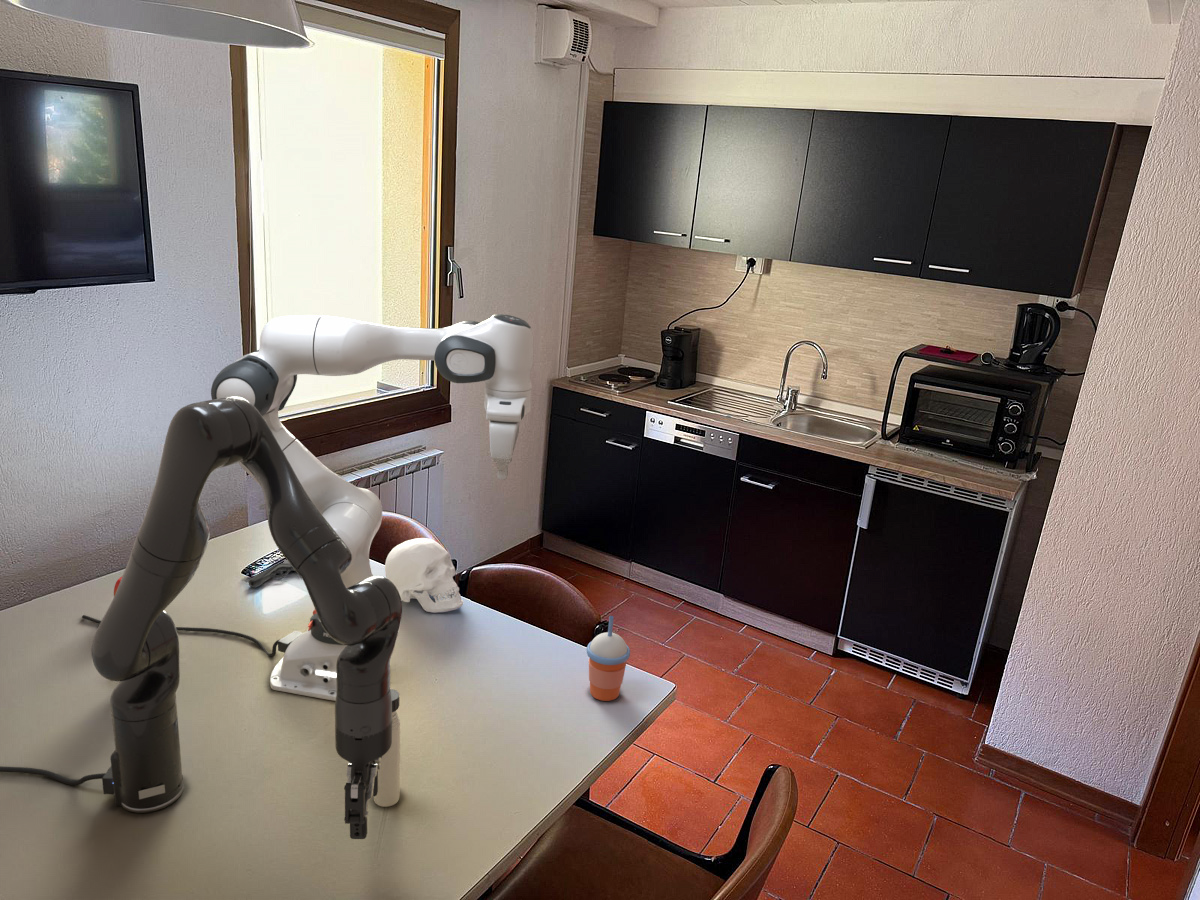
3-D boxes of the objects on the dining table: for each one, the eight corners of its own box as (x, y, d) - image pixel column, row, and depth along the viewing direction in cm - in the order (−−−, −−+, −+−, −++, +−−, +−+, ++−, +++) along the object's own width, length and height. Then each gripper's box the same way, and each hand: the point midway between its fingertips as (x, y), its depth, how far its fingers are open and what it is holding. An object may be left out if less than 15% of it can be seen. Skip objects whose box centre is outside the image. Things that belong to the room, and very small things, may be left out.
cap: (374, 701, 141) (374, 689, 141) (397, 698, 143) (398, 687, 142) (375, 715, 138) (375, 703, 137) (400, 712, 139) (400, 700, 138)
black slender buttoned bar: (292, 594, 211) (247, 586, 213) (325, 565, 228) (283, 558, 229) (291, 586, 211) (246, 578, 212) (325, 557, 227) (283, 550, 229)
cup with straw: (621, 709, 175) (629, 631, 170) (578, 700, 177) (585, 623, 172) (629, 685, 184) (636, 610, 179) (588, 677, 185) (594, 603, 180)
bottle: (373, 792, 147) (372, 691, 141) (398, 788, 148) (398, 688, 142) (375, 808, 143) (374, 706, 137) (400, 804, 144) (401, 703, 138)
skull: (448, 622, 203) (451, 561, 199) (372, 599, 211) (374, 540, 207) (477, 602, 215) (480, 543, 211) (405, 581, 223) (406, 524, 219)
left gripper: (346, 687, 123) (347, 781, 128) (323, 750, 110) (326, 852, 115) (399, 688, 124) (398, 782, 129) (382, 751, 111) (382, 853, 115)
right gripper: (496, 387, 172) (494, 452, 176) (485, 413, 153) (482, 486, 157) (528, 390, 172) (524, 455, 176) (520, 416, 153) (516, 488, 157)
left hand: (364, 815), depth 122 cm, fingers open, 8 cm apart
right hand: (504, 470), depth 166 cm, fingers open, 8 cm apart
